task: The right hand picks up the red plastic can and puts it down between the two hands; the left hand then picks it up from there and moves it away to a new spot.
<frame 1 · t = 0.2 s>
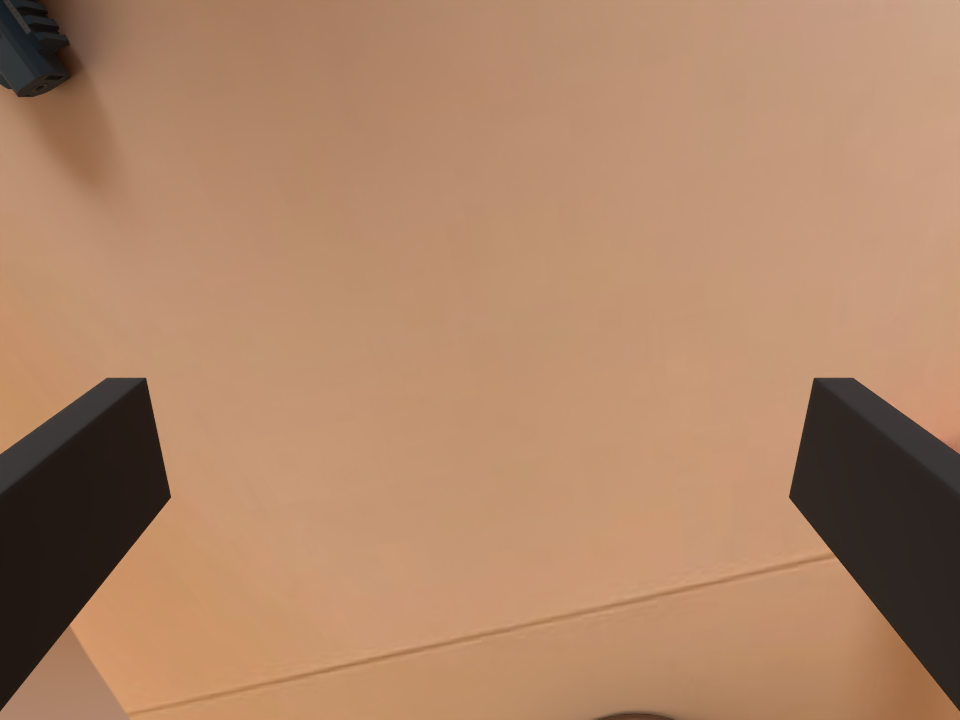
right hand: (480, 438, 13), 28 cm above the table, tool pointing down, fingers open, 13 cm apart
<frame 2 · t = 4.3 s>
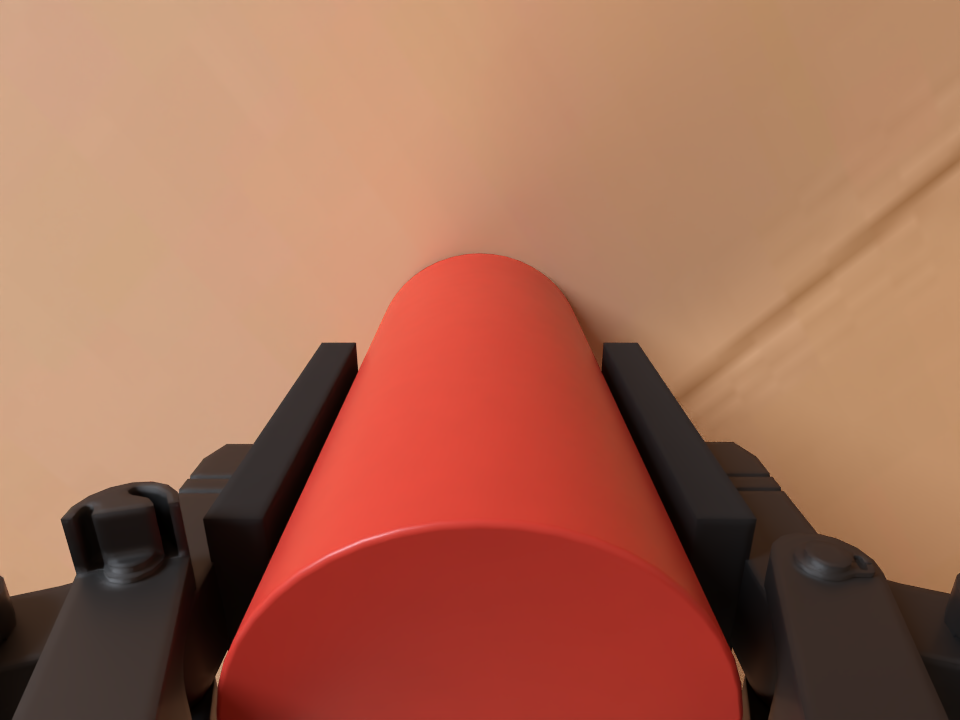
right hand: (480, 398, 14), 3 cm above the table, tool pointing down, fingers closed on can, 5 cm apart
can: (479, 353, 17), on the table, touching right hand
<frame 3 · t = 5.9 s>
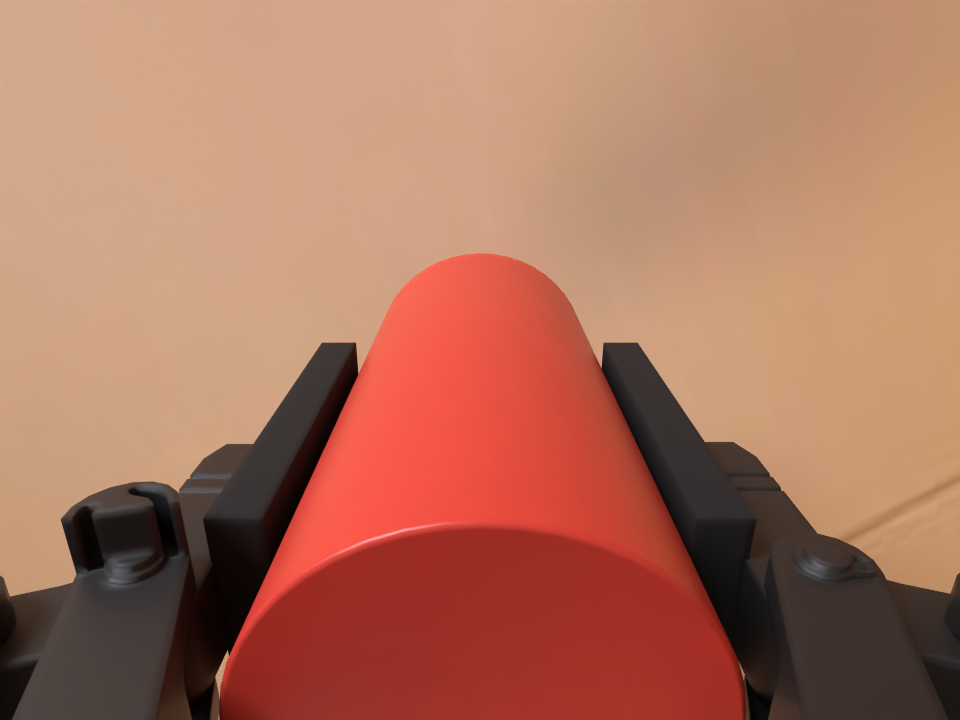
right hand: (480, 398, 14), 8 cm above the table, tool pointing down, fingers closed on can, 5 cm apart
can: (481, 353, 17), point 5 cm above the table, touching right hand
when the right hand's fingers open (5 cm above the table, at t = 8.0 s): can drops 2 cm, on the table.
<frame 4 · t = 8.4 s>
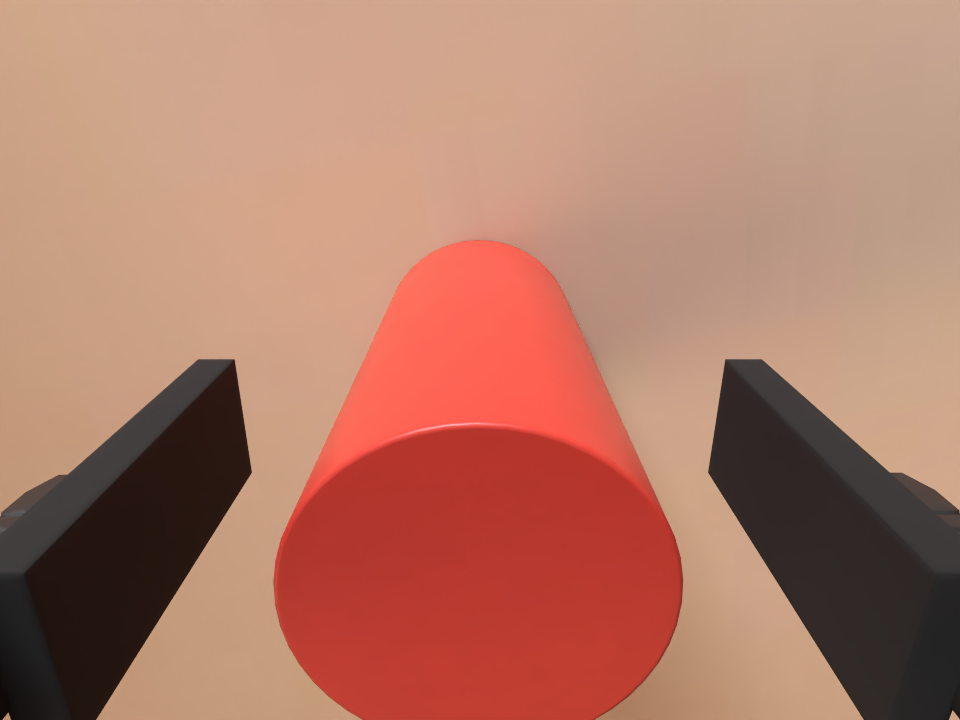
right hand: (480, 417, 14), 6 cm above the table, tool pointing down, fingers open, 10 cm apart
can: (479, 331, 19), on the table
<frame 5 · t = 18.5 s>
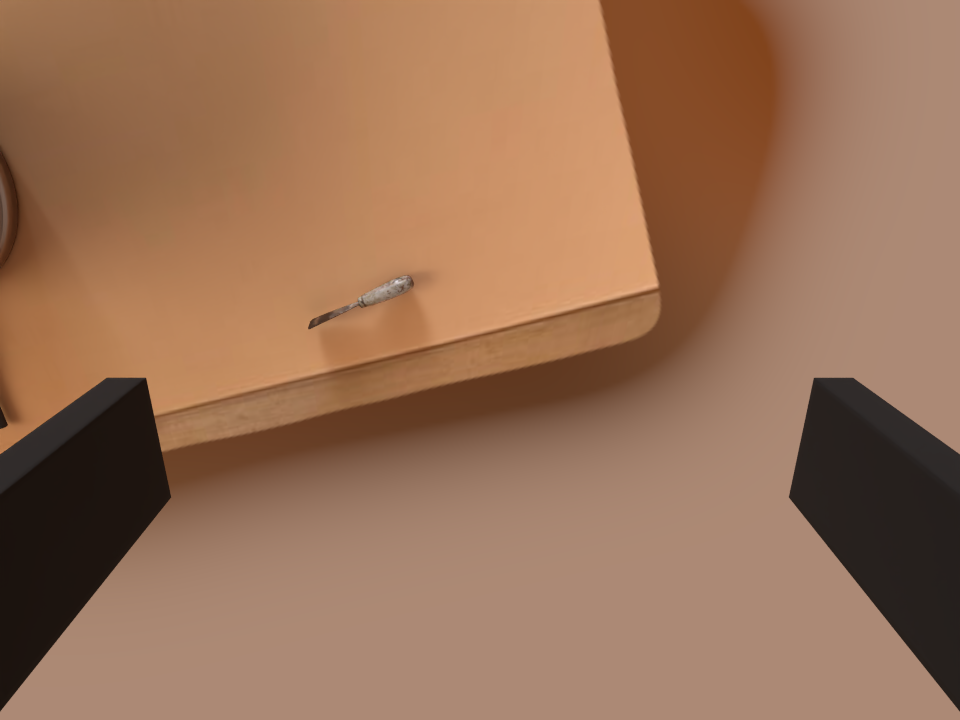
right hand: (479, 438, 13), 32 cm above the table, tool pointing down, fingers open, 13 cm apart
putty knife: (362, 299, 45), on the table
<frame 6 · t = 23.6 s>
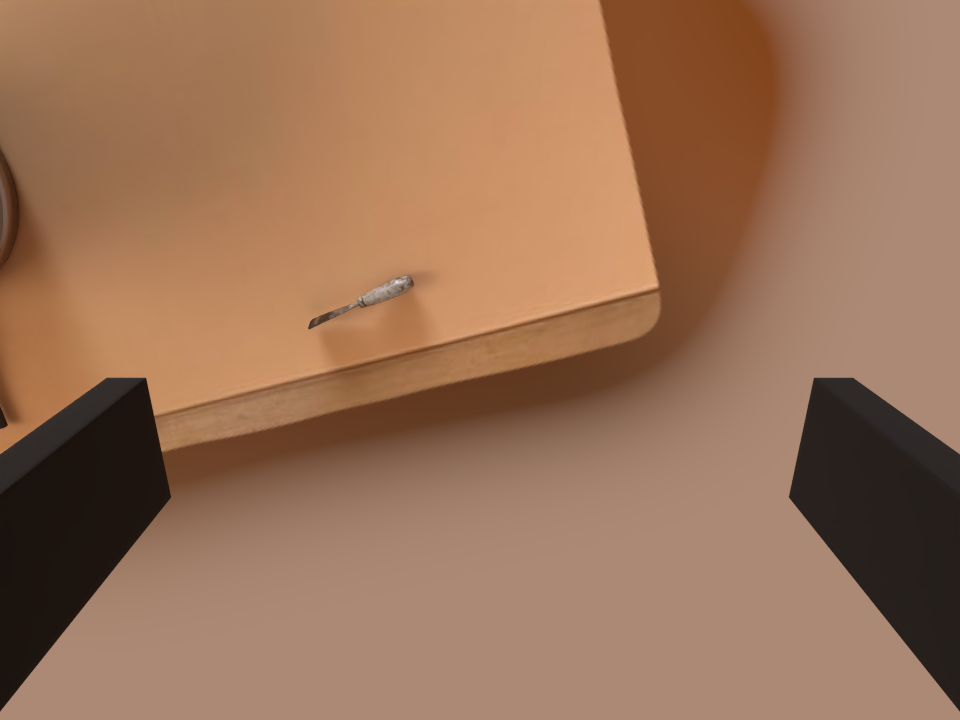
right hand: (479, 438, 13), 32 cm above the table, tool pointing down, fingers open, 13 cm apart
putty knife: (362, 299, 45), on the table
when the left hand's fingers open (5 cm above the table, at t = 28.9 s): can drops 2 cm, on the table.
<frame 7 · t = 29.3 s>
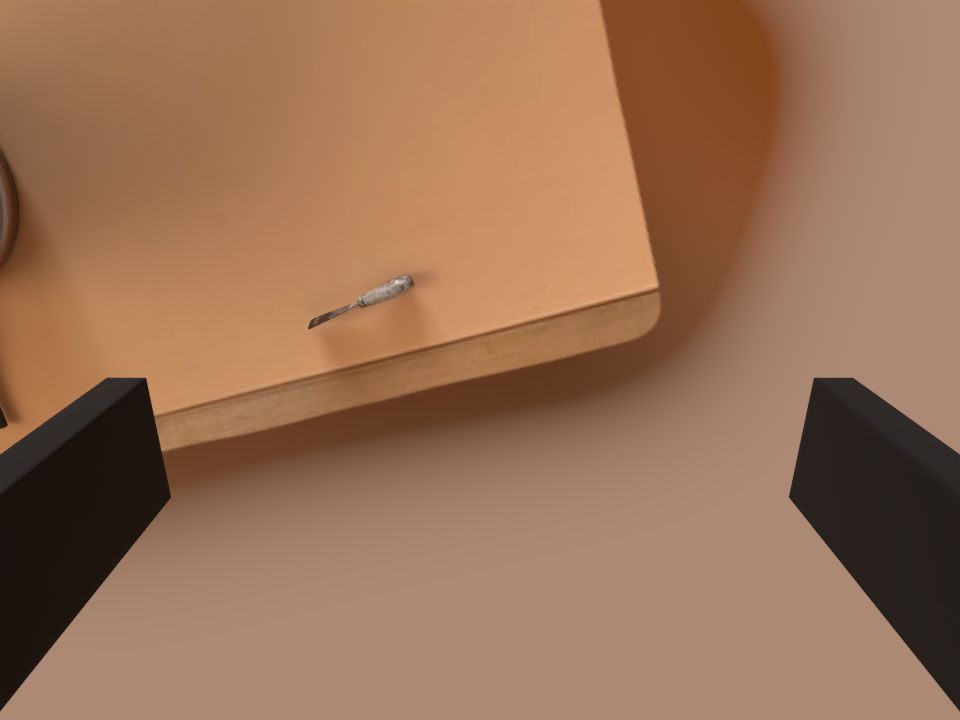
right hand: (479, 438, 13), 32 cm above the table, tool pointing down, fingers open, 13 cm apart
putty knife: (362, 299, 45), on the table
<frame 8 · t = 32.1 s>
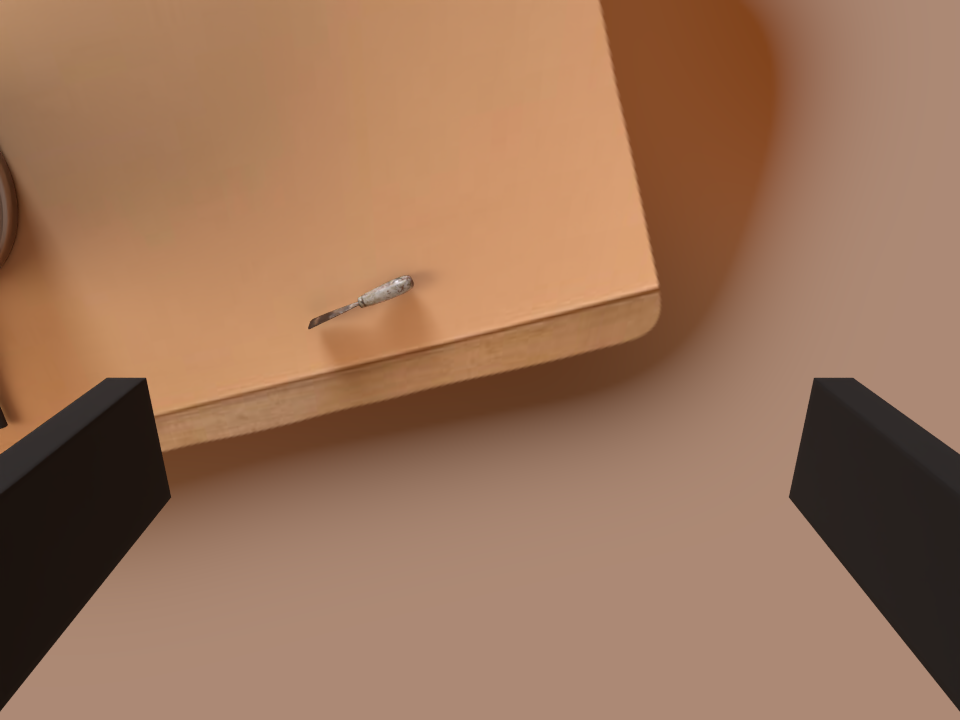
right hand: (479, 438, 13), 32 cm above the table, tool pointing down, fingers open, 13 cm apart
putty knife: (362, 299, 45), on the table
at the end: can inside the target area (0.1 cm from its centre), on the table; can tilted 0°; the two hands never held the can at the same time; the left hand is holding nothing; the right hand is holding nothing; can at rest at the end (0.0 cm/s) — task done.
